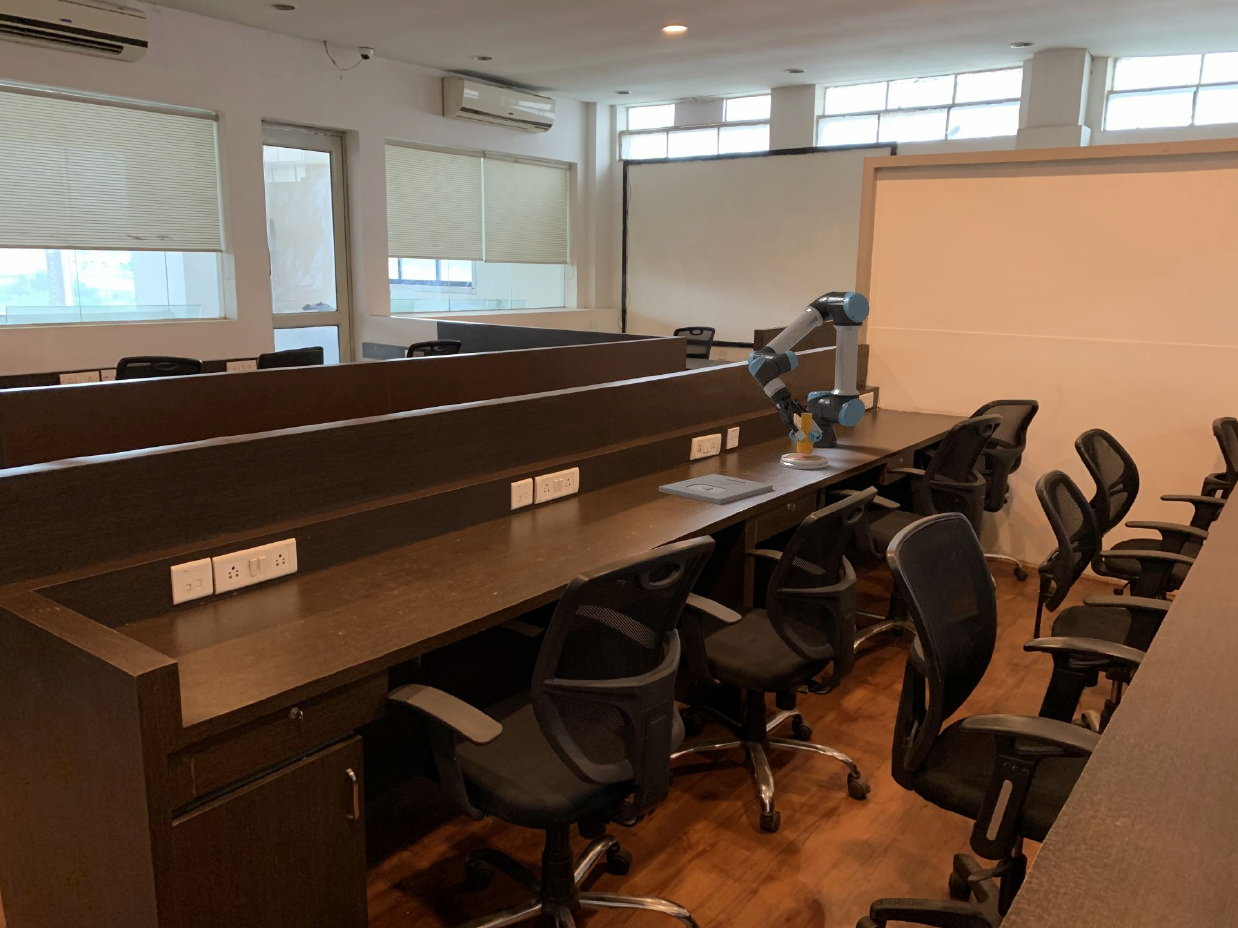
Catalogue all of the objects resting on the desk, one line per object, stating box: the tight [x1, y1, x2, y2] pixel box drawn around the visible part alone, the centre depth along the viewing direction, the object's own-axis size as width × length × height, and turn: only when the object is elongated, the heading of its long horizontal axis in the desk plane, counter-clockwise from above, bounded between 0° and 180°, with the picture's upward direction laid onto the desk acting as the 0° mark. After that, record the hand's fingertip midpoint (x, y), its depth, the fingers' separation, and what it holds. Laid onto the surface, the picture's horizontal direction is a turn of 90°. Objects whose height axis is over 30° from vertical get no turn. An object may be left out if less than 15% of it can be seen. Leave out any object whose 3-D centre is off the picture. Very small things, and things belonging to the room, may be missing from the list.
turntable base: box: [779, 458, 829, 471], centre depth 352 cm, size 18×18×2 cm
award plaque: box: [658, 473, 774, 505], centre depth 307 cm, size 25×30×2 cm
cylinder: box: [788, 413, 822, 454], centre depth 349 cm, size 12×10×15 cm
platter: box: [781, 452, 828, 466], centre depth 351 cm, size 17×17×2 cm
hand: (811, 436), depth 348 cm, fingers closed on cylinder, 12 cm apart
